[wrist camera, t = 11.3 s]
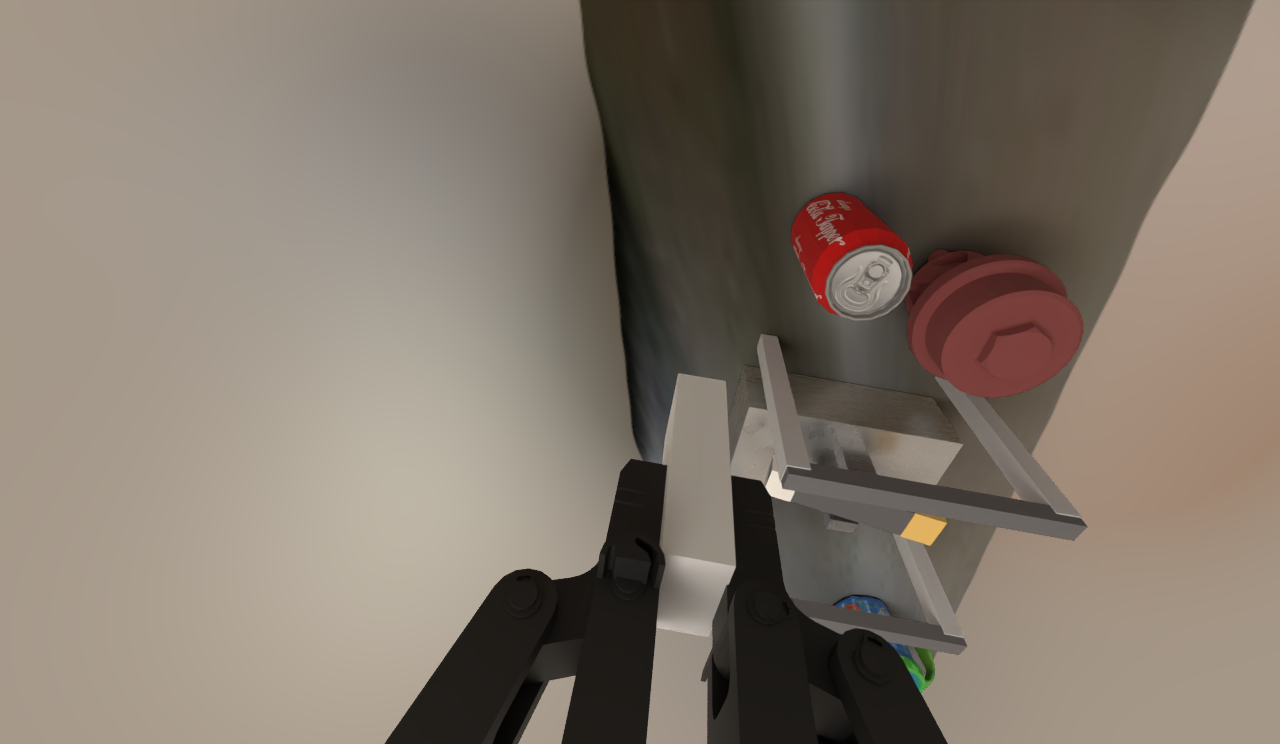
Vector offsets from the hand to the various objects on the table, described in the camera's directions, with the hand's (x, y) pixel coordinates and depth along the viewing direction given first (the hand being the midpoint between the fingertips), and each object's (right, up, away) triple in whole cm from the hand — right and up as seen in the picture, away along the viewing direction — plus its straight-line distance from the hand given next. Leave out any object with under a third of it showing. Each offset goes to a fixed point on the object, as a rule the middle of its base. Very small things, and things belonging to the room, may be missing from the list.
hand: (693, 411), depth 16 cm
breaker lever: (+17, -9, +26) cm, 32 cm away
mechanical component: (+25, +9, +26) cm, 37 cm away
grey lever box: (+18, -3, +35) cm, 39 cm away
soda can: (+14, +13, +25) cm, 32 cm away
